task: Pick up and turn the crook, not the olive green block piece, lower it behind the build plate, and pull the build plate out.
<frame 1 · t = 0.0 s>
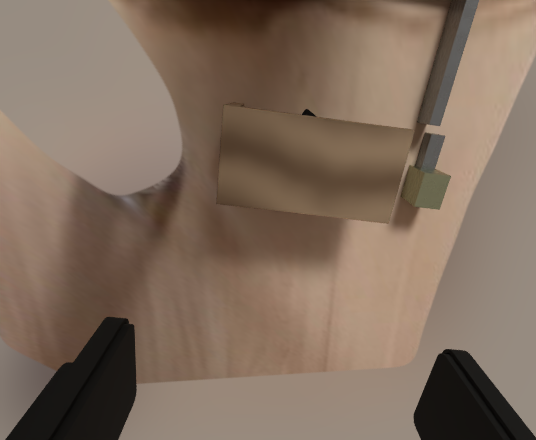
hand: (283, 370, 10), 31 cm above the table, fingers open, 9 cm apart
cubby: (304, 156, 39), on the table
olive green block piece: (416, 182, 40), on the table
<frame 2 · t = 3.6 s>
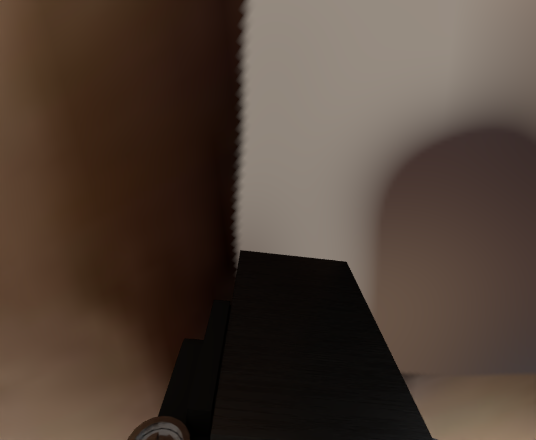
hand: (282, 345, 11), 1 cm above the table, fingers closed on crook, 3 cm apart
crook: (281, 329, 11), on the table, touching gripper
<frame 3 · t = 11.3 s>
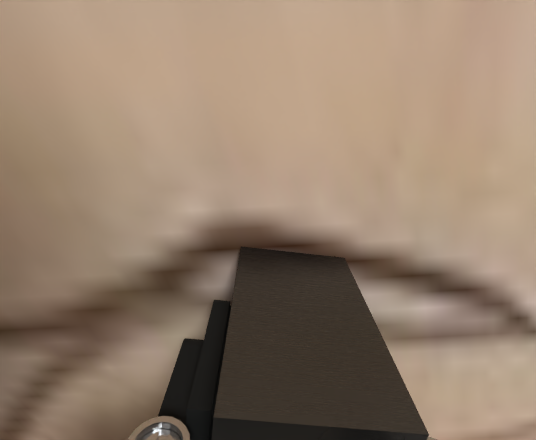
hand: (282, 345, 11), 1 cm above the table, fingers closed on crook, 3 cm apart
crook: (280, 324, 12), on the table, touching gripper
when the fingers open (2 cm above the table, at t = 12.2 s): crook stays where it is, on the table.
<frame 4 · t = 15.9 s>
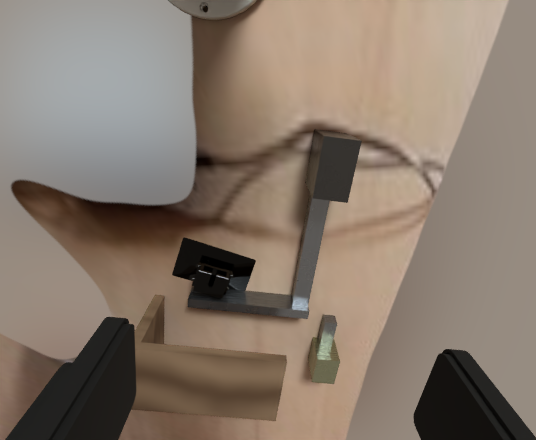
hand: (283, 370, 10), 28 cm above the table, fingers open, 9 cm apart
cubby: (220, 331, 44), on the table
olive green block piece: (320, 349, 46), on the table
crook: (325, 158, 36), on the table
build plate: (216, 264, 41), on the table
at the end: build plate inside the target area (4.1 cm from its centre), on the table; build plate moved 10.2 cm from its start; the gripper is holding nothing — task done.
